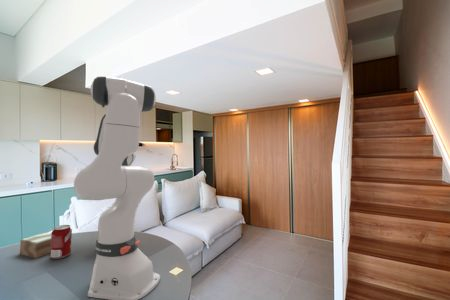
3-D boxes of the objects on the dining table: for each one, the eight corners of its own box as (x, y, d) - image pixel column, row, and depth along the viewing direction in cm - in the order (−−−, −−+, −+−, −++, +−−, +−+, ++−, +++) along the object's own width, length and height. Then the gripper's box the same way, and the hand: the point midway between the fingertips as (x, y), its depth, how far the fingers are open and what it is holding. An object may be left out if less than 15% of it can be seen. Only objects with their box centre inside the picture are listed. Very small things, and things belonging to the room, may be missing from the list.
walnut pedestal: (61, 248, 95) (62, 234, 95) (35, 258, 85) (36, 243, 86) (46, 244, 98) (47, 231, 98) (19, 253, 89) (20, 239, 89)
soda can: (59, 260, 84) (61, 230, 84) (45, 258, 85) (47, 228, 86) (74, 253, 90) (76, 225, 91) (61, 251, 92) (63, 223, 92)
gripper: (94, 169, 111) (73, 190, 102) (122, 172, 103) (102, 195, 94) (101, 177, 115) (82, 198, 106) (129, 180, 107) (111, 203, 98)
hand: (92, 196), depth 100 cm, fingers open, 8 cm apart
